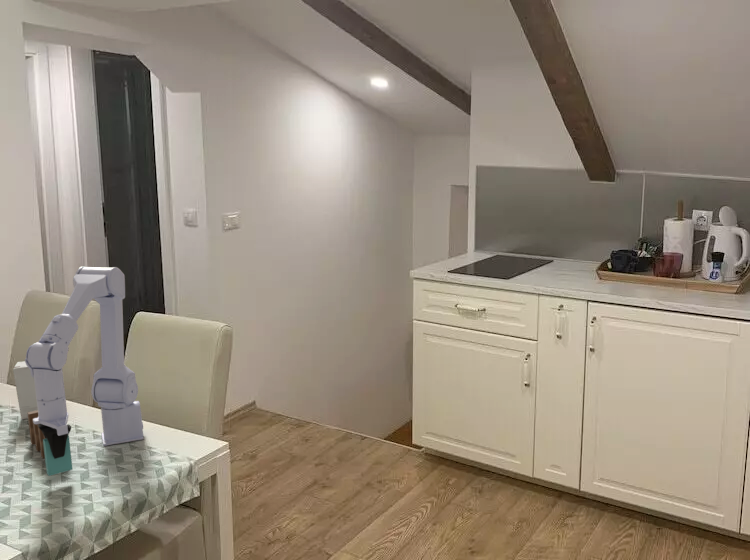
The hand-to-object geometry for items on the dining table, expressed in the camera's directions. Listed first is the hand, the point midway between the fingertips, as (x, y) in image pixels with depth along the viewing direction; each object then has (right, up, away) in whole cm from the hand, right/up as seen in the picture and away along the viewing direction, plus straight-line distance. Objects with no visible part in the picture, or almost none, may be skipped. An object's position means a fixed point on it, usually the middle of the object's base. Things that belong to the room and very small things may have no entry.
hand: (57, 455), depth 167 cm
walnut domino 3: (-8, -3, +16) cm, 18 cm away
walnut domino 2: (-11, -3, +20) cm, 22 cm away
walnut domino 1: (-14, -2, +24) cm, 27 cm away
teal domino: (0, -4, +1) cm, 4 cm away
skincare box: (-22, +1, +41) cm, 47 cm away
